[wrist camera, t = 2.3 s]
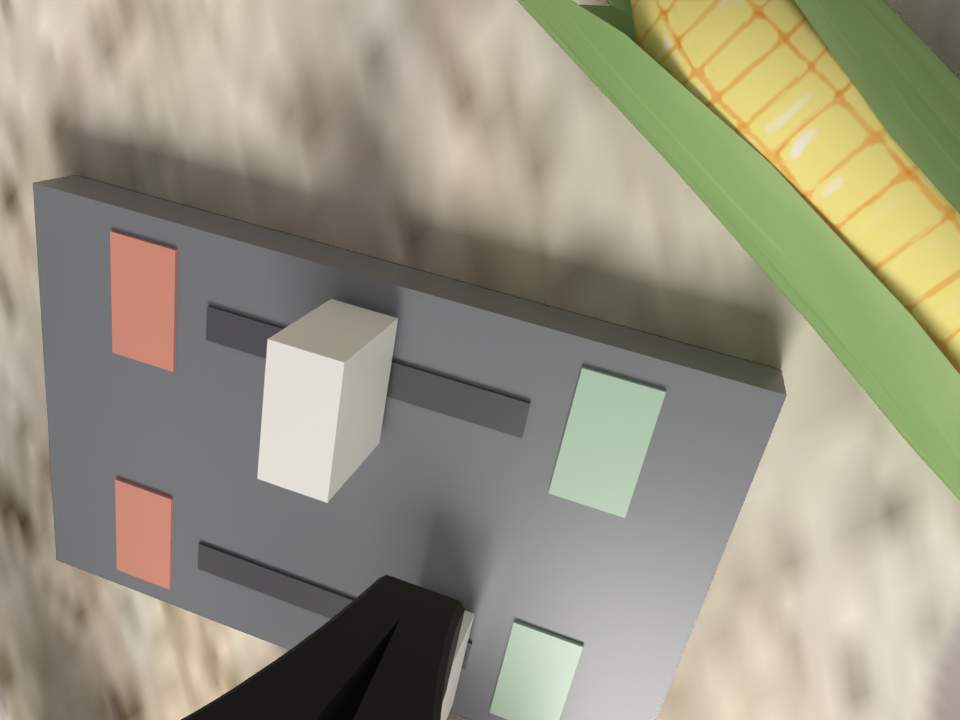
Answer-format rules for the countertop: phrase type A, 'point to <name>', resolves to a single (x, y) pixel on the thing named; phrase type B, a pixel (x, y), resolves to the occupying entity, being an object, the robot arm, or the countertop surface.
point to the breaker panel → (390, 453)
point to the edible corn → (811, 170)
